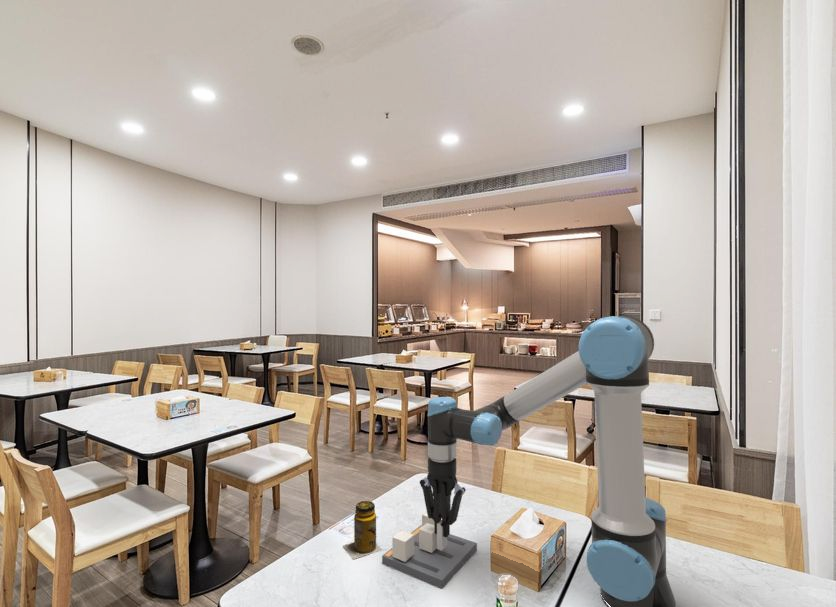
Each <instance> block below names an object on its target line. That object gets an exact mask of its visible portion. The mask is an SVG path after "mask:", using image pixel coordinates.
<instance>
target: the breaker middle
mask: <svg viewBox="0 0 836 607" xmlns="http://www.w3.org/2000/svg"><path fill="white" fill-rule="evenodd" d="M434 530H435V529H434V525H432V524H429V523H426V524H425V525H424V526H423V527H421V528H420V529H419V548H420V549H423V550H425V551H428V552H431V553H432V552H433V551H434V550H436V549H437V534H435V532H434Z"/></svg>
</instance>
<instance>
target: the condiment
mask: <svg viewBox="0 0 836 607" xmlns="http://www.w3.org/2000/svg"><path fill="white" fill-rule="evenodd" d="M353 518H354V520H353V524H354V525H353V527H354V528H353V530H354V531H353V532H354V533H353V535H354V536H353V538H354V539H353V541H354V542H351V543H348V544H344V545H342V547H343V549H344V550H345V551H346V552H347V554H348V555H349V556H350V557H351V558H352V560H357V559H359V558H362V557H364V556H368V555H371V554H374V553H377V552H379V551H381V550H382V548H381V547H380V546H379V545H378V544H377V513H376V510H375V503H374V502H373V501H370V500H361V501H358V502H357V503H356V505H355V513H354V517H353Z"/></svg>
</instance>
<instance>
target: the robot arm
mask: <svg viewBox="0 0 836 607" xmlns="http://www.w3.org/2000/svg"><path fill="white" fill-rule="evenodd" d="M651 330H652V329H650V327H649V326H648V325H647V324H646V323H645V322H644V321H642V320H640V319H638V318H635V317H633V316H629V315H618V316H614V315H612V316H608V317H607V316H604V317H601V318H599V319H597V320H595V321H594V322H592V323H590V324H589V325H588V326H587V327H586V328H585V330H583V332H582V333H581V336H580V339H579V341H578V350H577V351H575V353H573V354H571V355H569V356H567V357H566V358H564V359H563V360H561V361H559V362H557V363H556V364H555V365H553V366H552V367H550V368H548V369H546V370H545V371H543V372H542V373H540V374H538V375H537V376H535V377H534V378H531V379H530V380H529V381H527V382H525V383H523V384H522V385H520V386H519V387H517V388H515V389H513V390H512V391H511V392H509V393H507V394H505V395H504V396H502V397H500V398H498V399H497V400H495V401H493V402H492V403H490V404H488V405H484V406H483V407H480V408H478V409H476V410H469V409H463V408H460V407H458V405H457V400H456V399H455V398H452V397H449V396H436V397H433V398H431V399H430V400H429V401H428V408H427V414H426V416H427V432H428V434H427V436H428V437H427V456H428V458H427V472H428V473H427V475H426V476H425V477H424V478H422V479H420V480H419V485H420V487H421V489H422V493H423V499H424V504H425V509H426V512H427V515H428V518H432V519H433V520H434V529H435V530H434V532H435V534H437V549H439V550H441V551H442V550H443V549H444V548H445V547H446V546H447V537H448V536H449V534H451V532H450V531H451V530H450V526H452V525H453V524H454V523H455V522H457V520H458V516H459V511H460V507H461V503H462V497H463V495H464V494H465V492H466V487H463V486H462V487H461V485H459V484H458V479H457V458H456V457H457V440H460V441H465V442H470V443H473V444H476V445H480V446H488V447H489V446H490V447H493V446H495V445H497V443H499V440H500V439H501V437H502V433H503V431H504V430H506V429H509V428H511V427H513V425H516V424H517V423H519V422H521V421H522V420H524V419H526V418H527V417H530V416H531V415H533V414H535V413H537V412H539V411H540V410H542V409H544V408H546V407H548V406H549V405H551V404H553V403H555V402H557V401H558V400H560V399H562V398H564V397H566V396H567V395H569V394H571V393H573V392H575V391H577V390H578V389H580V388H583V387H584V386H586V385H588V386H589V387H590V388H591V389H592V390H593V392H594V393H593V394H594V418H595V445H596V446H595V447H596V468H597V469H596V470H597V472H596V473H597V489H598V490H597V494H598V495H597V496H598V506H597V507H596V508H595V509H593V511H591V513H590V514H591V517H590V518H591V544H590V545H589V546H588V548H587V553H586V567H587V570H588V573H589V574H590V576H591V577H592V579H593V581H594V582H595V583H597V585H598V586H599V587H600V588H599V589H600V591H601V593H600V596H601V595H602V597H603V598H604V600H605V601H606V602H607V603H608V604H609V605H610V606H611V607H677V606H676V603H677V602H676V598H675V596H674V593H673V591H672V587H671V585H670V584H671V583H670V581H669V579H668V576H667V528H666V527H667V526H666V524H667V523H666V522H668V520H667V516H666V509H665V507H664V506H663V505H662V504H661V503H659V502H657V501H656V500H654V499H652V498H648V497H646V484H645V482H646V481H645V478H646V477H645V459H644V458H645V456H644V436H643V433H644V431H643V414H642V413H643V412H642V411H643V410H642V393H643V392H644V391H645V389H647V388H648V387H649V386H650V368H649V367H650V366H649V365H650V364H649V359H650V358H651V357H652V354H653V352H654V349H655V338H654V335H653V333H652V331H651ZM453 490H454V491H453ZM452 492H454V493H453V494H454V496H453V498H452ZM451 498H452V503H451ZM602 597H601V598H602Z"/></svg>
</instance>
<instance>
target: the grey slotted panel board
mask: <svg viewBox="0 0 836 607" xmlns="http://www.w3.org/2000/svg"><path fill="white" fill-rule="evenodd" d="M421 527H422V524H420V525H419V526H418V527H417V528H415V530H413V531H412V532H409V533H410V534H413V535H414V555H412V556H411V557H410V558H409V559H408V560H407V561H406V562H404V561H402V560H399V559H397V558H394V557H392V548H389V550H387V551H386V552H385V553H384V554H383V555H381V564H382V565H384V566H387V567H390V568H392V569H394V570H396V571H398V572H401V573H403V574H406V575H408V576H411V577H413V578H415V579H417V580H420V581H423V582H424V583H427V584H429V585H431V586H434V587H436V588H439V589H442V590H443V588H444V587H445V586H446V585H447V584H448V583H449V582H450V580H452V578H453V577H454V576H455V575H456V574H457V573H458V572H459V570H460V569H462V568H463V567H464V566H465V564H466V563H467V562H468V561H469V560H470V559H471V557H473V555H474V554H476V552H477V551H478V543H477V542H476V541H472V540H469V539H466V538H463V537H460V536H457V535H454V534H452V533H450V534H449V536H448V537H447V546H446V547H445V548H444V549H443V550H442V551H441V550H439V549H436V550H434V551H433V552H432V553H431V552H428V551H425V550H423V549H420V548H419V529H420V528H421Z"/></svg>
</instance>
